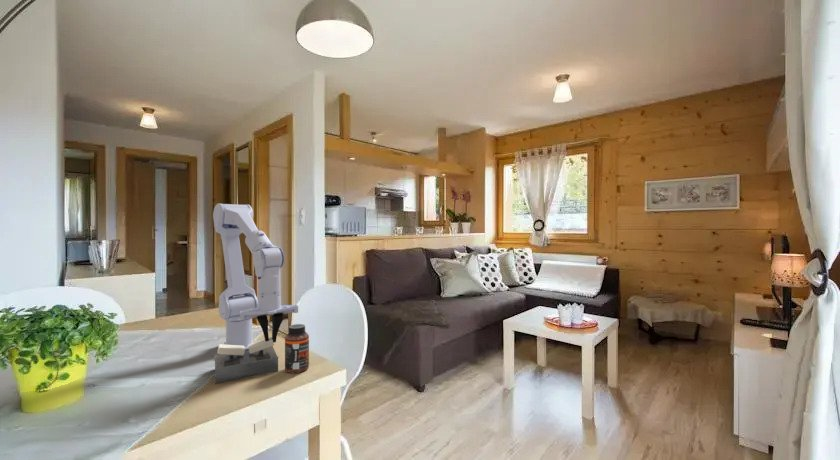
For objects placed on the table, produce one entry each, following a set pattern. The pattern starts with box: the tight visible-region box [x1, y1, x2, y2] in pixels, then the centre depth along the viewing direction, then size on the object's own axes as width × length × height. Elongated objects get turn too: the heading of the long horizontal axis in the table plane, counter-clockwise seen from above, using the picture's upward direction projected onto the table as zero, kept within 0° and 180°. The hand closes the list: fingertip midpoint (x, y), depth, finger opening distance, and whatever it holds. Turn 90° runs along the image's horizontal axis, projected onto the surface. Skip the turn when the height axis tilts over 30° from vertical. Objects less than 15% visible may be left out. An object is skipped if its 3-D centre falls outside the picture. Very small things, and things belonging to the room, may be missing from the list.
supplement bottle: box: [284, 323, 310, 374], centre depth 92 cm, size 6×6×11 cm
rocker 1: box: [217, 343, 246, 355], centre depth 92 cm, size 3×6×2 cm, turn 120°
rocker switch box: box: [214, 345, 279, 385], centre depth 92 cm, size 10×14×4 cm
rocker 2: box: [248, 336, 275, 354], centre depth 95 cm, size 3×6×2 cm, turn 120°
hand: (270, 342), depth 96 cm, fingers closed
